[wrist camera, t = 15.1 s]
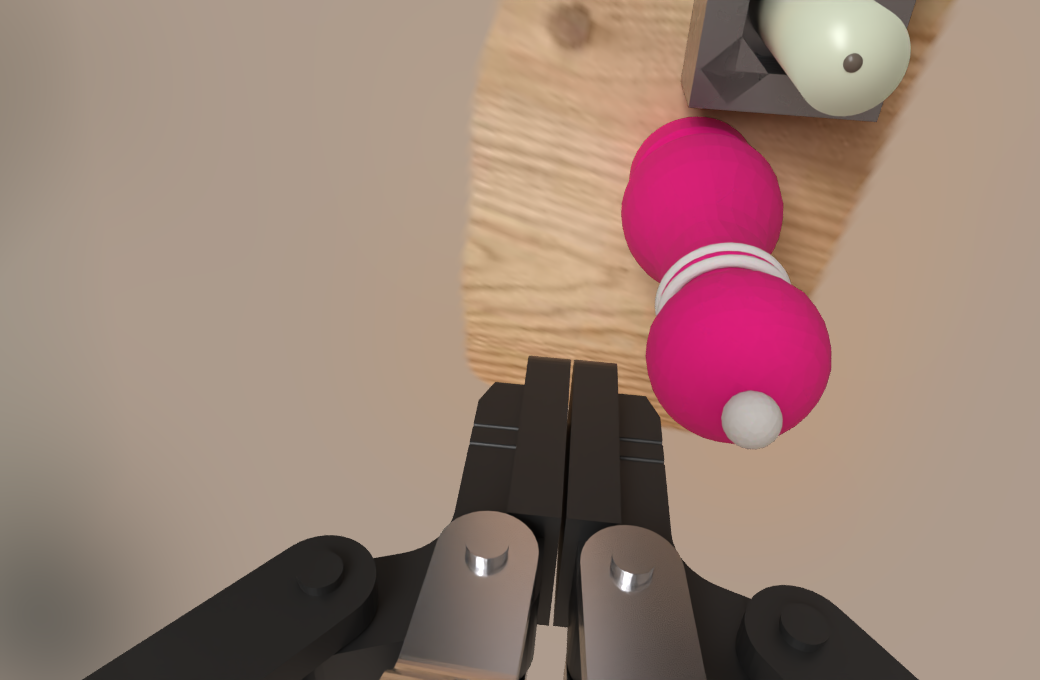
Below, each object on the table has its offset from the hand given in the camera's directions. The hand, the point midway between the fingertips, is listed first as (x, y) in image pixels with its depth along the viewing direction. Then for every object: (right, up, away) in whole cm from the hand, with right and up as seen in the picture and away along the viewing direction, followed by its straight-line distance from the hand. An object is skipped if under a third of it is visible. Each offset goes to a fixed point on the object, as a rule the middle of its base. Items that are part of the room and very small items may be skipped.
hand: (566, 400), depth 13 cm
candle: (+11, +16, +20) cm, 27 cm away
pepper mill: (+8, +10, +26) cm, 29 cm away
